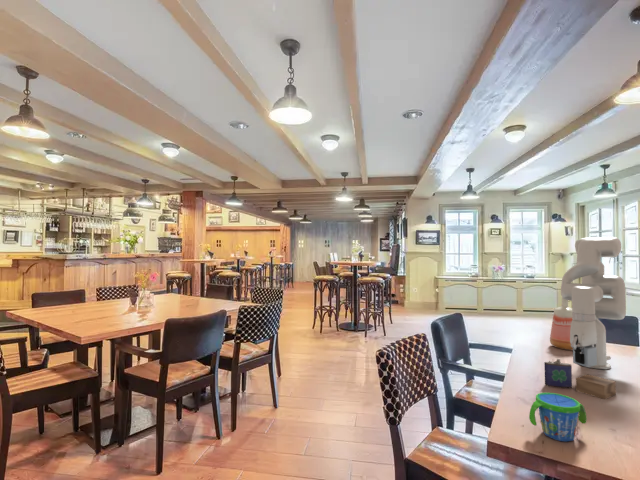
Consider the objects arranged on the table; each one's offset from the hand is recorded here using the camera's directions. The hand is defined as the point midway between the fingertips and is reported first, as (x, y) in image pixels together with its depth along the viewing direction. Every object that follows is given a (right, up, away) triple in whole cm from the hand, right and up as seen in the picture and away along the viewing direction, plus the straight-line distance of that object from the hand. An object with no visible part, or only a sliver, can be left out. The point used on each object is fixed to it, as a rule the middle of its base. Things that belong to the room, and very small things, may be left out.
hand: (584, 361), depth 144 cm
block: (-4, -8, -11) cm, 15 cm away
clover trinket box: (-14, -8, -6) cm, 17 cm away
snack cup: (-40, -7, -43) cm, 59 cm away
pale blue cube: (0, -1, 0) cm, 1 cm away
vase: (+28, -11, +52) cm, 60 cm away
